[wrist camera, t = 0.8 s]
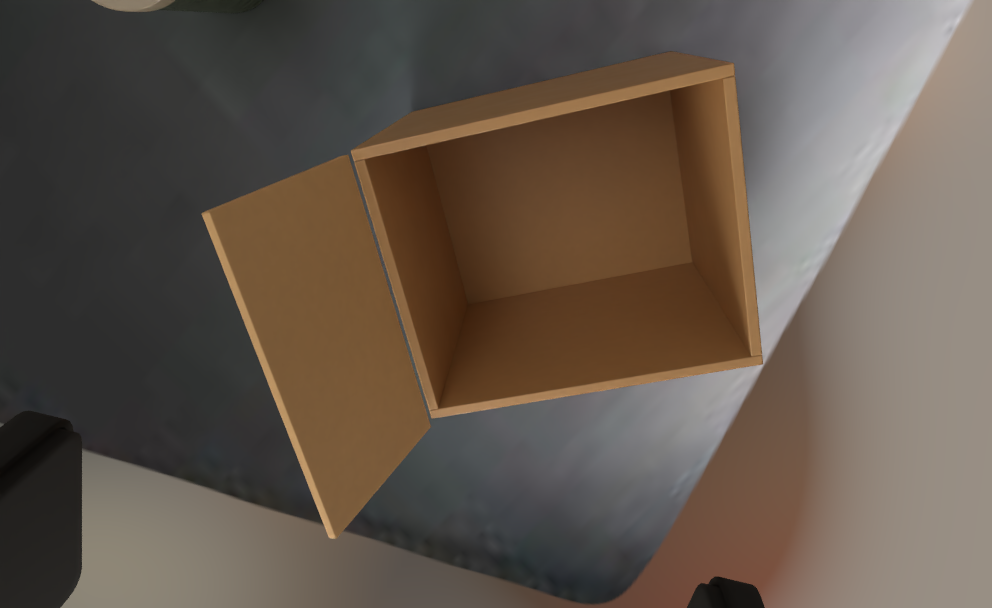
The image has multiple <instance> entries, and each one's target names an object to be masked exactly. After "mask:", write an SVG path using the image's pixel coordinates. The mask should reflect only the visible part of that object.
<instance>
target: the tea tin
mask: <svg viewBox="0 0 992 608" xmlns="http://www.w3.org/2000/svg"><path fill="white" fill-rule="evenodd" d="M92 1H94V2H95V3H97V4H99V5H101V6H104V7H106V8H109V9H113V10H117V11H126V12H149V11H155V10H170V11H193V12H216V13H240V12H245V11H248V10H250V9H252V8H254V7H256V6H257V5H259V4H260V3H261V2H262V1H263V0H92Z"/></svg>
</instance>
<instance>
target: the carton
mask: <svg viewBox="0 0 992 608" xmlns="http://www.w3.org/2000/svg"><path fill="white" fill-rule="evenodd" d="M734 75H735V69H734V63H730V62H725V61H720V60H715V59H709V58H704V57H699V56H694V55H689V54H683V53H678V52H673V51H670V52H665V53H661V54H657V55H653V56H648V57H644V58H640V59H635V60H631V61H627V62H623V63H618V64H614V65H610V66H606V67H601V68H597V69H593V70H588V71H584V72H580V73H576V74H571V75H567V76H563V77H559V78H554V79H550V80H546V81H541V82H537V83H533V84H529V85H524V86H520V87H516V88H512V89H507V90H503V91H499V92H494V93H490V94H486V95H482V96H477V97H473V98H469V99H465V100H460V101H456V102H452V103H447V104H443V105H439V106H435V107H430V108H426V109H422V110H417V111H413V112H411V113H409V114H408V115H406V116H405V117H403V118H401V119H400V120H398V121H397V122H395V123H394V124H392V125H390V126H389V127H387V128H386V129H384V130H382V131H381V132H379V133H378V134H376V135H375V136H373V137H371V138H370V139H368V140H367V141H365V142H363V143H362V144H360V145H359V146H357V147H356V148H354V149H352V150H351V153H352V157H353V160H354V161H355V166H356V170H357V173H358V176H359V180H360V183H361V186H362V190H363V193H364V196H365V200H366V203H367V206H368V210H369V213H370V216H371V219H372V223H373V226H374V229H375V233H376V236H377V239H378V243H379V246H380V249H381V253H382V256H383V259H384V262H385V266H386V269H387V272H388V276H389V279H390V282H391V286H392V289H393V292H394V296H395V299H396V302H397V306H398V309H399V312H400V315H401V319H402V322H403V325H404V329H405V332H406V335H407V339H408V342H409V345H410V349H411V352H412V355H413V358H414V362H415V365H416V368H417V372H418V375H419V378H420V382H421V385H422V388H423V392H424V395H425V398H426V402H427V405H428V408H429V411H430V415H431V418H439V417H445V416H451V415H457V414H463V413H469V412H475V411H481V410H487V409H493V408H499V407H505V406H511V405H518V404H524V403H530V402H536V401H542V400H548V399H554V398H560V397H566V396H572V395H578V394H584V393H591V392H597V391H603V390H609V389H615V388H621V387H627V386H633V385H639V384H645V383H651V382H657V381H663V380H670V379H676V378H682V377H688V376H694V375H700V374H706V373H712V372H718V371H724V370H730V369H736V368H742V367H749V366H755V365H761V364H763V359H762V355H761V354H762V349H761V339H760V328H759V318H758V307H757V297H756V287H755V276H754V266H753V256H752V245H751V235H750V224H749V214H748V204H747V193H746V183H745V173H744V162H743V152H742V142H741V131H740V121H739V110H738V100H737V90H736V79H735V76H734Z"/></svg>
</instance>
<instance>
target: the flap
mask: <svg viewBox="0 0 992 608" xmlns="http://www.w3.org/2000/svg"><path fill="white" fill-rule="evenodd" d="M202 216H203V218H204V221H205V224H206V226H207V229H208V231H209V234H210V236H211V239H212V241H213V244H214V246H215V249H216V251H217V254H218V257H219V259H220V262H221V264H222V267H223V269H224V272H225V274H226V277H227V279H228V282H229V285H230V287H231V290H232V292H233V295H234V297H235V300H236V302H237V305H238V307H239V310H240V312H241V315H242V318H243V320H244V323H245V325H246V328H247V330H248V333H249V335H250V338H251V340H252V343H253V346H254V348H255V351H256V353H257V356H258V358H259V361H260V363H261V366H262V368H263V371H264V373H265V376H266V379H267V381H268V384H269V386H270V389H271V391H272V394H273V396H274V399H275V401H276V404H277V407H278V409H279V412H280V414H281V417H282V419H283V422H284V424H285V427H286V429H287V432H288V435H289V437H290V440H291V442H292V445H293V447H294V450H295V452H296V455H297V457H298V460H299V462H300V465H301V468H302V470H303V473H304V475H305V478H306V480H307V483H308V485H309V488H310V490H311V493H312V496H313V498H314V501H315V503H316V506H317V508H318V511H319V513H320V516H321V518H322V521H323V523H324V526H325V528H326V531H327V534H328V536H329V538H333V539H337V537H338V536H339V535H340V534H341V533H342V532H343V530H344V529H345V528H346V527H347V526H348V524H349V523H350V522H351V521H352V520H353V518H354V517H355V516H356V515H357V514H358V513H359V511H360V510H361V509H362V508H363V507H364V505H365V504H366V503H367V502H368V501H369V499H370V498H371V497H372V496H373V495H374V494H375V492H376V491H377V490H378V489H379V488H380V486H381V485H382V484H383V483H384V482H385V481H386V479H387V478H388V477H389V476H390V475H391V473H392V472H393V471H394V470H395V469H396V467H397V466H398V465H399V464H400V463H401V462H402V460H403V459H404V458H405V457H406V456H407V454H408V453H409V452H410V451H411V450H412V448H413V447H414V446H415V445H416V444H417V443H418V441H419V440H420V439H421V438H422V437H423V435H424V434H425V433H426V432H427V431H428V429H429V428H430V427H431V426H430V422H429V419H428V416H427V413H426V409H425V406H424V403H423V399H422V396H421V393H420V390H419V386H418V383H417V380H416V376H415V373H414V370H413V367H412V363H411V360H410V357H409V353H408V350H407V347H406V344H405V340H404V337H403V334H402V330H401V327H400V324H399V321H398V317H397V314H396V311H395V307H394V304H393V301H392V297H391V294H390V291H389V288H388V284H387V281H386V278H385V274H384V271H383V268H382V265H381V261H380V258H379V255H378V251H377V248H376V245H375V242H374V238H373V235H372V232H371V228H370V225H369V222H368V219H367V215H366V212H365V209H364V205H363V202H362V199H361V196H360V192H359V189H358V186H357V182H356V179H355V176H354V173H353V169H352V166H351V163H350V159H349V156H348V155H344V156H340V157H338V158H335V159H333V160H330V161H328V162H325V163H323V164H320V165H318V166H316V167H313V168H311V169H308V170H306V171H303V172H301V173H298V174H296V175H294V176H291V177H289V178H286V179H284V180H281V181H279V182H276V183H274V184H271V185H269V186H267V187H264V188H262V189H259V190H257V191H254V192H252V193H249V194H247V195H245V196H242V197H240V198H237V199H235V200H232V201H230V202H227V203H225V204H222V205H220V206H218V207H215V208H213V209H210V210H208V211H205V212H203V213H202Z"/></svg>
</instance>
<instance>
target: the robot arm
mask: <svg viewBox="0 0 992 608" xmlns="http://www.w3.org/2000/svg"><path fill="white" fill-rule="evenodd" d="M81 569H82V440H81V436H80V434H78V433H76V432H73V426H72V424H71V422H70V421H68V420H66V419H62V418H58V417H54V416H49V415H45V414H41V413H37V412H33V411H23V412H22V413H20V414H18V415H16V416H15V417H14V418H12V419H11V420H10V421H8V422H7V423H6V424H4V425H3V426H2V427H0V608H60V607H61V606H62V605H63V604H64V603H65V601H66V600H67V599H68V598H69V596H70V595H71V594H72V592H73V591H74V589H75V587H76V585H77V583H78V581H79V578H80V574H81ZM687 608H765V607H764V604H763V602H762V599H761V596H760V594H759V592H758V590H757V588H756V587H754V586H753V585H751V584H747V583H743V582H739V581H734V580H730V579H726V578H722V577H714V578H713V579H711V580H710V582H709V584H703V583H701V584H700V585H698V587H697V588H696V590H695V592H694V594H693V596H692V598H691V600H690V602H689V605H688V606H687Z"/></svg>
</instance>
